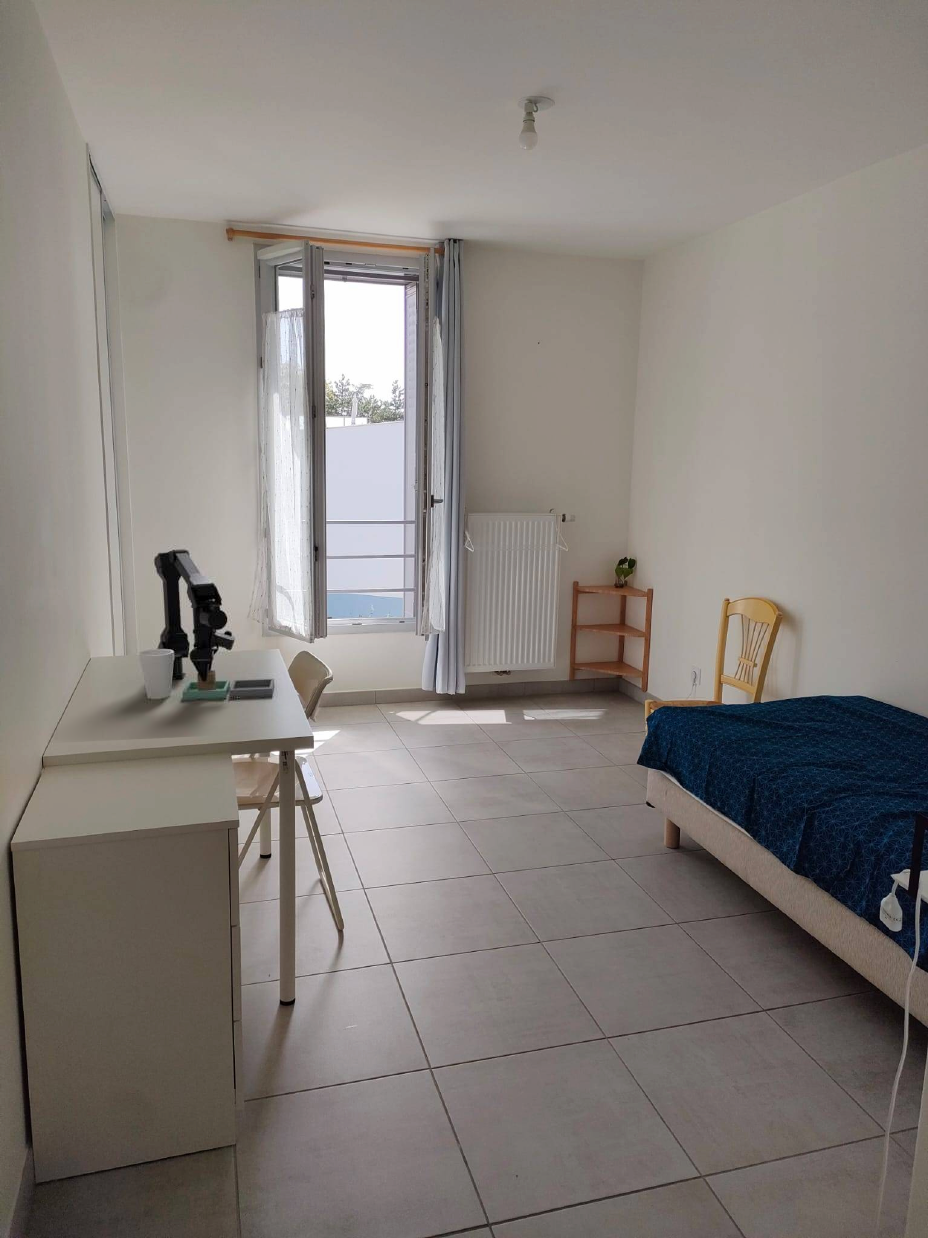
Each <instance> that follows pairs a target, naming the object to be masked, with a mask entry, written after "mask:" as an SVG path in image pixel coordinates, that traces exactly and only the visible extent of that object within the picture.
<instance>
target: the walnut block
mask: <svg viewBox="0 0 928 1238" xmlns="http://www.w3.org/2000/svg"><path fill="white" fill-rule="evenodd" d="M196 674H197V675H196V677H197V682H198V691H203V690H216V681H217V680H216V670H214V669H213V670H212V669H211V670H208V674H207V681H204V682H203V681H202V679H201V678H200V676H199V674H198V673H196Z"/></svg>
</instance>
